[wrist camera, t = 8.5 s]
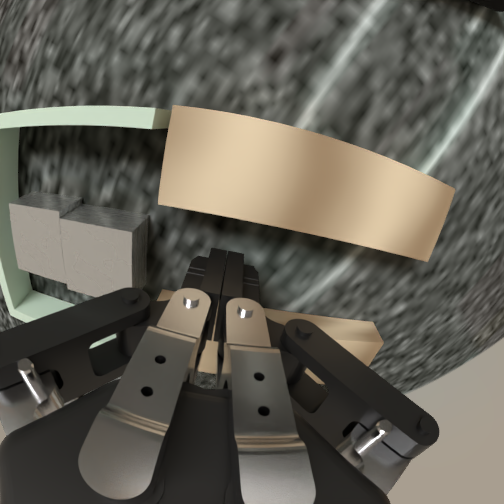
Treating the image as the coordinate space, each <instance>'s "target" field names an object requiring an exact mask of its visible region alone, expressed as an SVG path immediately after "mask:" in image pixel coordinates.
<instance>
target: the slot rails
mask: <svg viewBox="0 0 504 504" xmlns="http://www.w3.org/2000/svg"><path fill="white" fill-rule="evenodd" d="M454 192H455V189H454V188H452V187H450V186H448V185H446V184H444V183H442V182H440V181H438V180H436V179H434V178H432V177H430V176H428V175H426V174H424V173H422V172H419V171H417V170H415V169H413V168H411V167H408V166H406V165H404V164H401V163H399V162H397V161H394V160H392V159H389V158H387V157H384V156H382V155H379V154H377V153H374V152H371V151H369V150H366V149H363V148H360V147H358V146H355V145H352V144H349V143H346V142H343V141H340V140H337V139H334V138H330V137H327V136H324V135H321V134H317V133H314V132H310V131H307V130H303V129H300V128H296V127H292V126H288V125H284V124H280V123H276V122H272V121H267V120H263V119H258V118H253V117H249V116H244V115H238V114H233V113H227V112H221V111H215V110H208V109H201V108H194V107H186V106H177V105H173V108H172V113H171V118H170V123H169V129H168V134H167V140H166V146H165V153H164V159H163V166H162V174H161V181H160V190H159V199H158V204H159V205H165V206H171V207H177V208H182V209H188V210H193V211H199V212H204V213H209V214H215V215H220V216H225V217H230V218H236V219H241V220H246V221H251V222H256V223H261V224H266V225H270V226H275V227H280V228H285V229H290V230H294V231H299V232H304V233H308V234H313V235H317V236H322V237H326V238H331V239H335V240H340V241H344V242H348V243H353V244H357V245H361V246H365V247H370V248H374V249H378V250H382V251H386V252H390V253H394V254H398V255H402V256H406V257H410V258H414V259H418V260H422V261H426V262H428V260H429V258H430V255H431V253H432V251H433V248H434V246H435V244H436V241H437V239H438V237H439V234H440V232H441V229H442V226H443V224H444V221H445V218H446V216H447V213H448V210H449V207H450V204H451V201H452V198H453V195H454ZM174 293H175V292H174V291H169V290H164V289H162V291H161V293H160V295H159V297H158V299H157V301H165V300H169V299H171V297H172V295H173V294H174ZM218 305H219V302H218ZM263 309H264V312H265V316H266V317H268V318H269V319H271V320H272V321H275V322H277V323H280V324H282V325H286V323H287V322H288V321H289V320H292V319H304V320H307V321H310V322H312V323H314V324H315V325H316V326H318V327H319V328H320V329H321V330H323V331H324V332H325V333H326V334H328V335H329V336H330V337H331V338H332V339H334V340H335V341H336V342H337V343H339V344H340V345H341V346H342V347H344V348H345V349H346V350H347V351H349V352H350V353H351V354H353V355H354V356H355V357H356V358H358V359H359V360H360V361H361V362H363V363H364V364H365V365H366V366H369V364H370V363H371V361H372V360H373V358H374V357H375V355H376V354H377V352H378V351H379V349H380V348H381V346H382V345H383V343H384V342H383V340H382V339H381V337H380V335H379V333H378V331H377V329H376V327H375V325H374V323H373V322H369V321H359V320H350V319H341V318H332V317H324V316H316V315H309V314H301V313H294V312H287V311H281V310H274V309H267V308H263ZM217 312H218V307H217ZM216 318H217V313H216ZM216 318H215V324H214V329H213V335H212V341H209V340H207V341H206V346H205V349H204V350H203V355H202V359H201V362H200V366H199V369H198V371H201V372H207V373H213V374H216V354H217V349H218V342H215V341H213V339H214V332H215V325H216ZM305 373H306V374H307V375H309V376H310V377H311V378H312V379H313V380H314V381H315V382H316V383H317V384H325V383H324V382H323V381H321V380H320V379H319V378H318V377H317V376H316V375H315V374H313V373H312V372H311V371H310V370H309V369H308V368H307V369H306V370H305Z"/></svg>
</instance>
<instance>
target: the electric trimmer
mask: <svg viewBox="0 0 504 504" xmlns="http://www.w3.org/2000/svg"><path fill="white" fill-rule="evenodd" d="M469 1H472V2H475V3H477V4H480V5H483V6H485V7H487V8H490V9H492V10H495V11H499V12H503V11H504V0H469Z"/></svg>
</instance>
